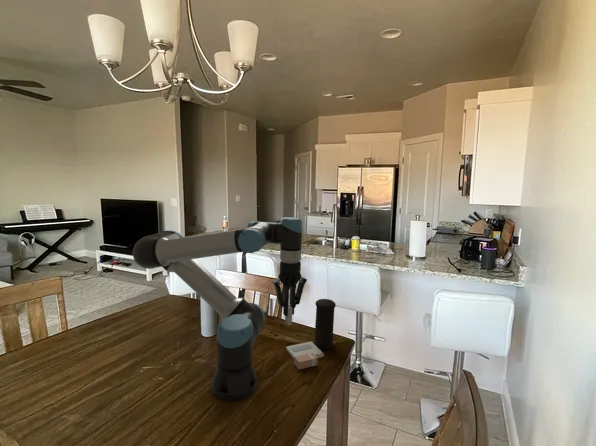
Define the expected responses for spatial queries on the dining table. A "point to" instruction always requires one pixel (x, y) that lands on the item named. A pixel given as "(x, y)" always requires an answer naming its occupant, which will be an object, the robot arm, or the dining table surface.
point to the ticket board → (304, 349)
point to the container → (324, 323)
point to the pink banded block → (305, 361)
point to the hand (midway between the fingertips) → (288, 323)
